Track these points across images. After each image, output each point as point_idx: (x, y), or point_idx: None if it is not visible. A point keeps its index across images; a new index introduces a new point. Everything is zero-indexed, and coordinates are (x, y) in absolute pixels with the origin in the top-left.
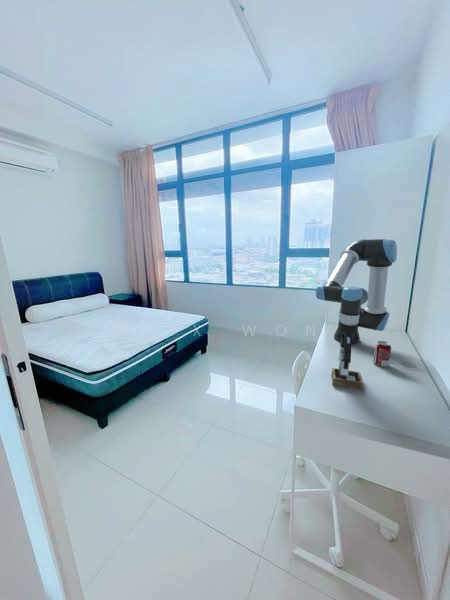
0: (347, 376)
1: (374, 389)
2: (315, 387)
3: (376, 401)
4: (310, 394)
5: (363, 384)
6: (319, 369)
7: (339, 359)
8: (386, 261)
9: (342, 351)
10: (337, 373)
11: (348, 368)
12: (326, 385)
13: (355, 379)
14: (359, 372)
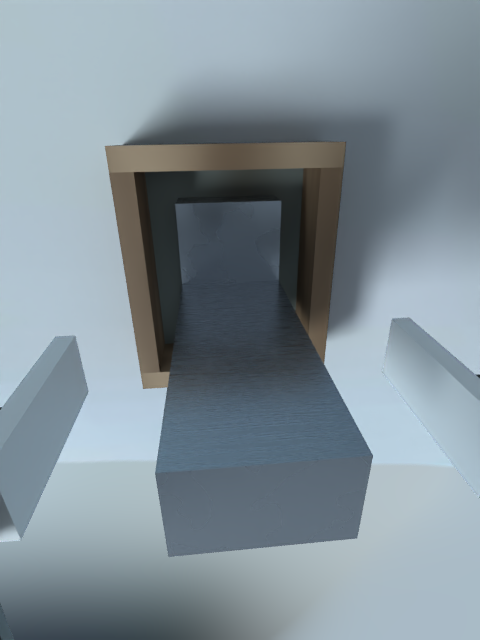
0: (210, 267)
1: (263, 18)
2: (357, 425)
3: (453, 43)
4: (430, 438)
5: (342, 142)
6: (117, 425)
7: (84, 394)
8: None
9: (235, 535)
10: (160, 330)
11: (457, 364)
12: None
13: (238, 202)
14: (114, 155)
